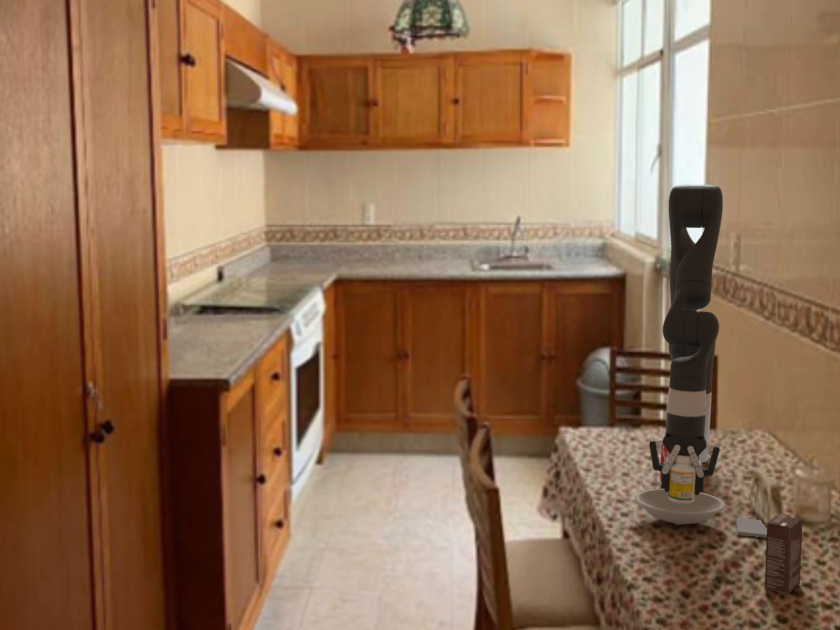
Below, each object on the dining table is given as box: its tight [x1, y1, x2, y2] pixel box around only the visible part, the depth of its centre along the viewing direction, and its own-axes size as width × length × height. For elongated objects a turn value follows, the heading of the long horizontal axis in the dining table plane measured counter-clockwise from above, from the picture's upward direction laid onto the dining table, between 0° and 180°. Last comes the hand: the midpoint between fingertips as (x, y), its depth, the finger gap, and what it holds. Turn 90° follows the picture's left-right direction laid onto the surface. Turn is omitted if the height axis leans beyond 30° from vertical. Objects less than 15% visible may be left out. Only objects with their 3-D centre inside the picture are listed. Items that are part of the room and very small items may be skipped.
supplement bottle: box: [668, 455, 697, 504], centre depth 199 cm, size 5×5×10 cm
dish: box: [634, 488, 726, 526], centre depth 200 cm, size 18×14×5 cm
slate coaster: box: [736, 517, 767, 539], centre depth 197 cm, size 8×8×1 cm
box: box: [764, 512, 803, 595], centre depth 170 cm, size 6×4×12 cm
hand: (681, 492), depth 199 cm, fingers open, 5 cm apart
